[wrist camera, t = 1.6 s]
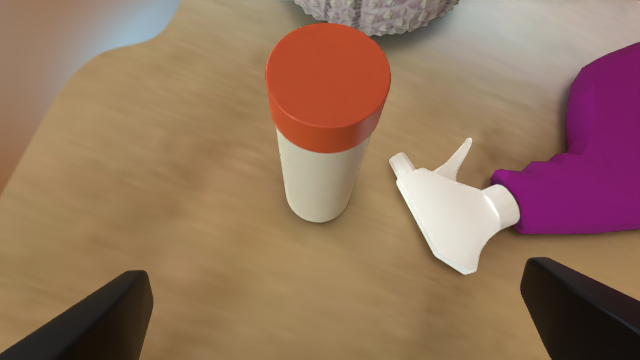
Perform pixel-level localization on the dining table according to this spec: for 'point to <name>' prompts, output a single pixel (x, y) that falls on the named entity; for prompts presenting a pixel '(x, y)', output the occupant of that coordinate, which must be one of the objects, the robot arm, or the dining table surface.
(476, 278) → the dining table surface
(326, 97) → the white and orange cylinder
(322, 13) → the sea urchin shell
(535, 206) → the spray bottle
